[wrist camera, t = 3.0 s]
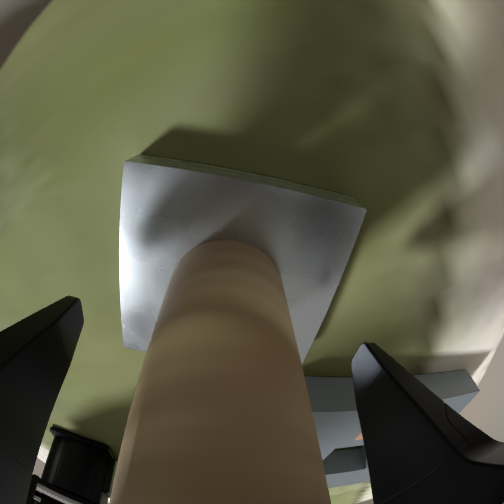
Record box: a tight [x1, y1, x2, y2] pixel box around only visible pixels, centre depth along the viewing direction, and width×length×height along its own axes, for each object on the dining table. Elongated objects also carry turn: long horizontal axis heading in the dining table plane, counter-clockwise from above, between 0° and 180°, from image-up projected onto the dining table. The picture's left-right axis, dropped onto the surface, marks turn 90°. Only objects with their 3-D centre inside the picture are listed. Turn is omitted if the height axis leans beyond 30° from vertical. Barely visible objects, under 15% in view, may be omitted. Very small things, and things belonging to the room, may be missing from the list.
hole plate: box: [304, 370, 480, 488], centre depth 18 cm, size 16×16×3 cm
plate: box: [119, 154, 367, 364], centre depth 11 cm, size 8×8×2 cm
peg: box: [110, 240, 331, 504], centre depth 7 cm, size 4×4×8 cm
